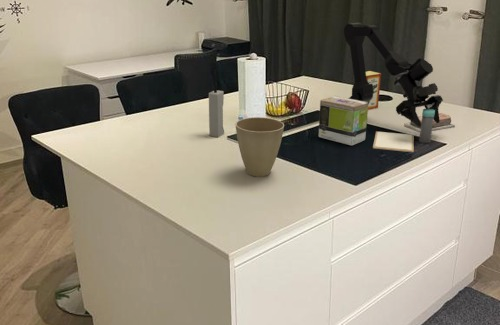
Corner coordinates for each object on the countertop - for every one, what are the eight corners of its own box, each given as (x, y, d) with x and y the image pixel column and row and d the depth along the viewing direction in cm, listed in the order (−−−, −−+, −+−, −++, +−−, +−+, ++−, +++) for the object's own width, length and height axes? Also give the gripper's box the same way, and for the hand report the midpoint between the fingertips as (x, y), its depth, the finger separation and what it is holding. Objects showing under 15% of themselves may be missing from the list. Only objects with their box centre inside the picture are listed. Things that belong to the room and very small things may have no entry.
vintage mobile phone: (224, 133, 202) (223, 68, 193) (218, 137, 198) (217, 71, 189) (215, 132, 204) (214, 68, 195) (209, 136, 200) (208, 70, 190)
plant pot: (246, 184, 158) (247, 134, 152) (228, 167, 170) (228, 120, 165) (290, 177, 163) (292, 128, 158) (270, 161, 176) (271, 115, 170)
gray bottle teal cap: (418, 142, 195) (422, 111, 190) (418, 139, 198) (422, 108, 194) (430, 143, 194) (435, 112, 189) (430, 140, 197) (434, 109, 193)
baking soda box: (367, 104, 244) (370, 70, 238) (377, 107, 239) (381, 72, 233) (352, 107, 239) (355, 72, 233) (363, 110, 234) (366, 75, 228)
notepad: (372, 148, 189) (372, 146, 188) (376, 132, 206) (376, 130, 205) (413, 152, 185) (413, 150, 185) (413, 135, 202) (413, 134, 202)
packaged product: (437, 110, 220) (456, 116, 211) (436, 121, 221) (454, 128, 213) (404, 115, 212) (422, 122, 204) (403, 127, 214) (421, 134, 205)
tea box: (366, 140, 197) (369, 101, 192) (351, 146, 190) (354, 106, 185) (332, 131, 207) (335, 94, 201) (317, 137, 200) (319, 99, 194)
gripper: (405, 78, 187) (424, 116, 182) (442, 73, 195) (462, 109, 190) (387, 95, 196) (405, 132, 191) (423, 90, 204) (442, 125, 199)
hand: (429, 124), depth 193 cm, fingers open, 9 cm apart
